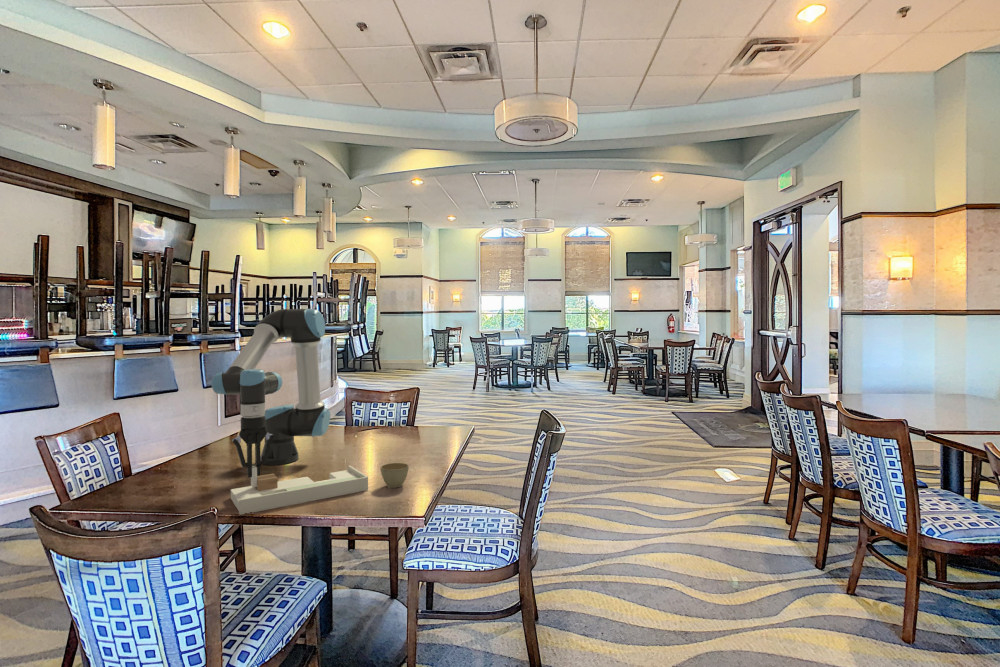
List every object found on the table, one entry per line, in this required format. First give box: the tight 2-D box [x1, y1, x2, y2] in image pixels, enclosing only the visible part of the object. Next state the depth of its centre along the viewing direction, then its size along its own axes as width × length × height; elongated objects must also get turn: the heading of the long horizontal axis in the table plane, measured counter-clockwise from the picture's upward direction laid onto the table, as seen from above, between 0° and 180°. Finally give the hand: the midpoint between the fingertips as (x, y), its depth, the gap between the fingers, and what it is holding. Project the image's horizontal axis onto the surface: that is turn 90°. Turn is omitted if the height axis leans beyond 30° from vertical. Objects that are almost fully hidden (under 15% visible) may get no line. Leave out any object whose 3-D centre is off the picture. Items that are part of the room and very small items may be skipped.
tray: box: [230, 465, 369, 516], centre depth 181 cm, size 19×41×4 cm, turn 125°
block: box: [256, 473, 278, 491], centre depth 179 cm, size 6×6×4 cm
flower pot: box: [380, 462, 410, 489], centre depth 190 cm, size 10×10×7 cm
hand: (254, 486), depth 177 cm, fingers closed
